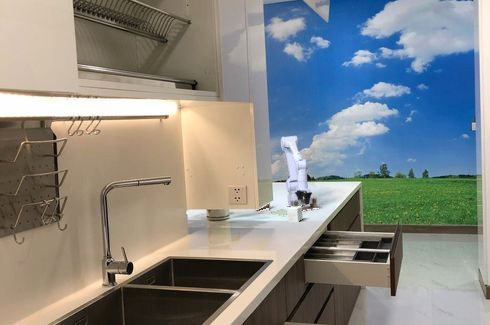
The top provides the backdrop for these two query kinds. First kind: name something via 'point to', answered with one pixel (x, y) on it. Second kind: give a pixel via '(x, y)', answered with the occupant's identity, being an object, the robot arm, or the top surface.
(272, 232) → the top surface
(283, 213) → the mat
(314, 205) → the stand
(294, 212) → the product box
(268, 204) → the food container
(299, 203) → the rail
